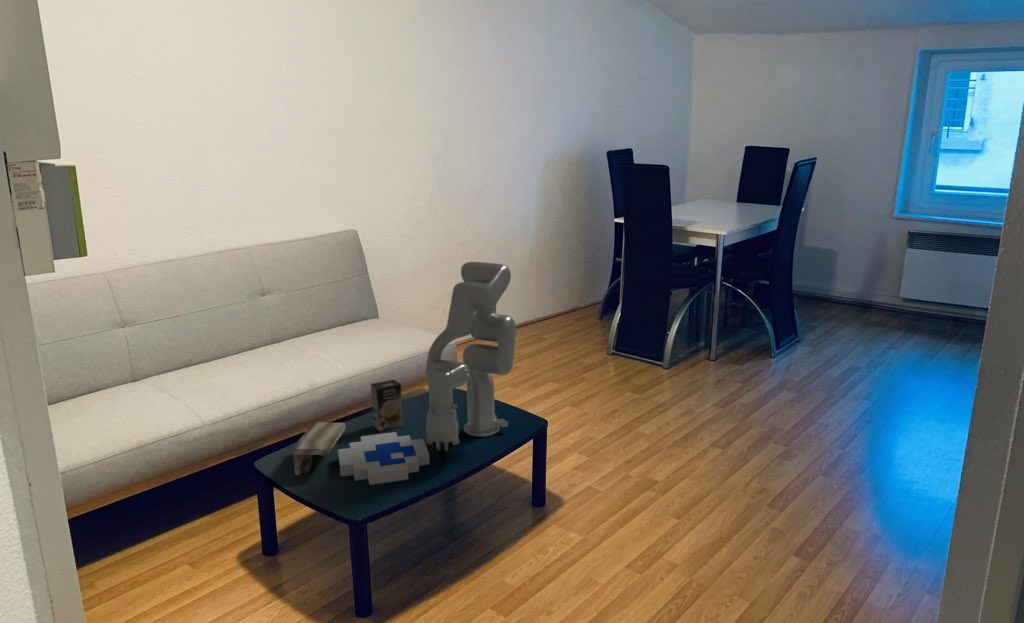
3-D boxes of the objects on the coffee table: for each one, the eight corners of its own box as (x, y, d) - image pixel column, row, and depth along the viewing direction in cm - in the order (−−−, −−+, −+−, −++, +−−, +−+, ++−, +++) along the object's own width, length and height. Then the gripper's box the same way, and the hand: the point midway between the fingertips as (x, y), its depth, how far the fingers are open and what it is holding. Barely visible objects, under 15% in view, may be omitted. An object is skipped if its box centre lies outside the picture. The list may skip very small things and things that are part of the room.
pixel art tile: (419, 429, 270) (433, 465, 244) (419, 439, 271) (434, 476, 245) (336, 439, 263) (341, 477, 237) (337, 450, 264) (342, 489, 238)
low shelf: (347, 447, 265) (345, 422, 263) (329, 475, 246) (327, 449, 244) (315, 446, 266) (312, 422, 264) (295, 474, 247) (292, 448, 245)
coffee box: (379, 431, 277) (376, 389, 273) (372, 425, 282) (369, 383, 278) (403, 426, 282) (401, 384, 277) (396, 419, 287) (394, 378, 282)
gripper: (466, 403, 251) (468, 455, 256) (420, 402, 252) (422, 454, 257) (463, 412, 244) (465, 466, 249) (415, 411, 245) (418, 465, 250)
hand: (443, 460), depth 253 cm, fingers closed
